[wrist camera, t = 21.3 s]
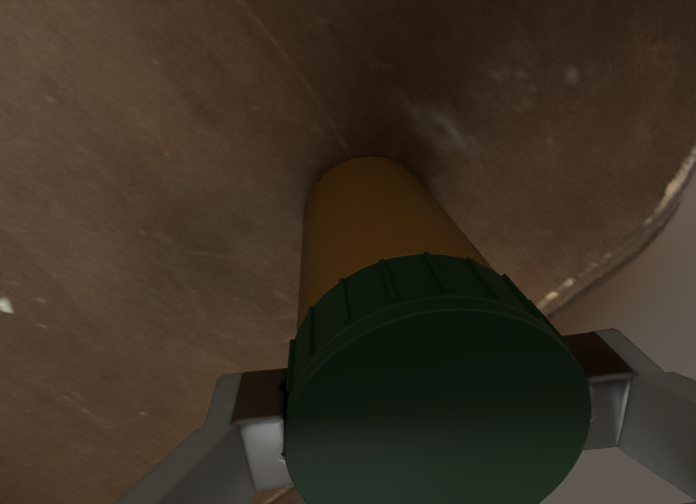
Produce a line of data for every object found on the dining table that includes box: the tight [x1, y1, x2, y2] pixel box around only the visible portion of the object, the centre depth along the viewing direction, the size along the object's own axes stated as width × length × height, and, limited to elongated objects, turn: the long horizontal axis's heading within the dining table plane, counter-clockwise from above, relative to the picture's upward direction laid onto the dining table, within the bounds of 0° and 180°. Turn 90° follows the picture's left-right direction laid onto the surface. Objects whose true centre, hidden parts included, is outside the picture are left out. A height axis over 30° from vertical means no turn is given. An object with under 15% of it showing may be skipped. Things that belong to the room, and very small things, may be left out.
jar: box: [297, 157, 494, 332], centre depth 15 cm, size 6×6×12 cm
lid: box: [283, 252, 592, 504], centre depth 10 cm, size 6×6×2 cm
